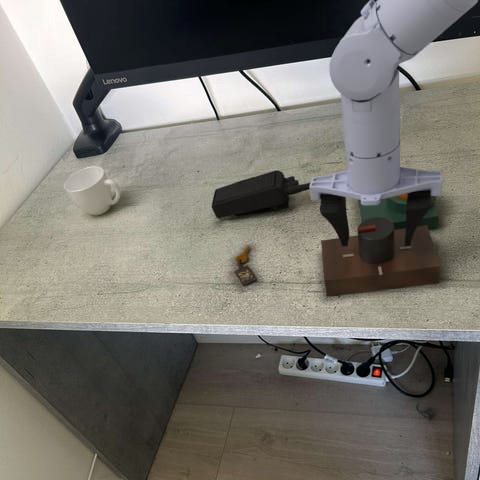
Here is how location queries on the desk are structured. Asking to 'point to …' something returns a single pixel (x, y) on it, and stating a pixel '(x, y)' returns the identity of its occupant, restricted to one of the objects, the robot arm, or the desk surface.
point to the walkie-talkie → (256, 195)
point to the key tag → (244, 269)
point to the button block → (398, 212)
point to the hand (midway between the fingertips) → (376, 241)
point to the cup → (92, 190)
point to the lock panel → (380, 265)
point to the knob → (376, 239)
